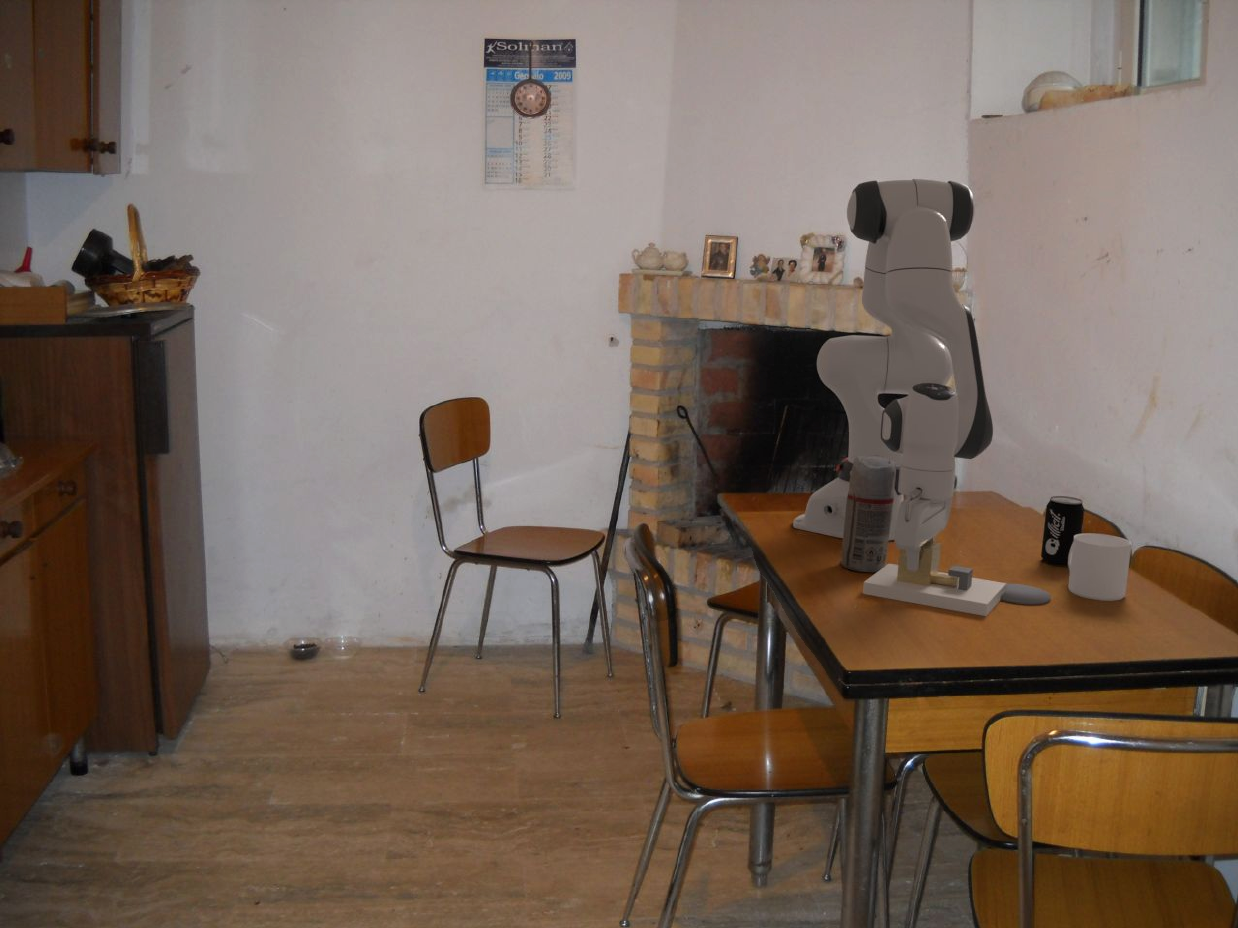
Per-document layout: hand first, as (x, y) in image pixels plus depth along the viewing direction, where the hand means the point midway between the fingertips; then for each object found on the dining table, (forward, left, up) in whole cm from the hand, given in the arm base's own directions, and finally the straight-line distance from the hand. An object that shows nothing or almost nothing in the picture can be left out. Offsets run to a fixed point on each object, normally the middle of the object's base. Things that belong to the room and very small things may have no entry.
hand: (918, 564), depth 200 cm
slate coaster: (+15, +8, -4) cm, 18 cm away
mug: (+25, +19, -5) cm, 32 cm away
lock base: (+3, 0, -4) cm, 5 cm away
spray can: (-12, +9, -5) cm, 16 cm away
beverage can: (+17, +35, -5) cm, 39 cm away
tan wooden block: (+2, 0, -3) cm, 3 cm away
